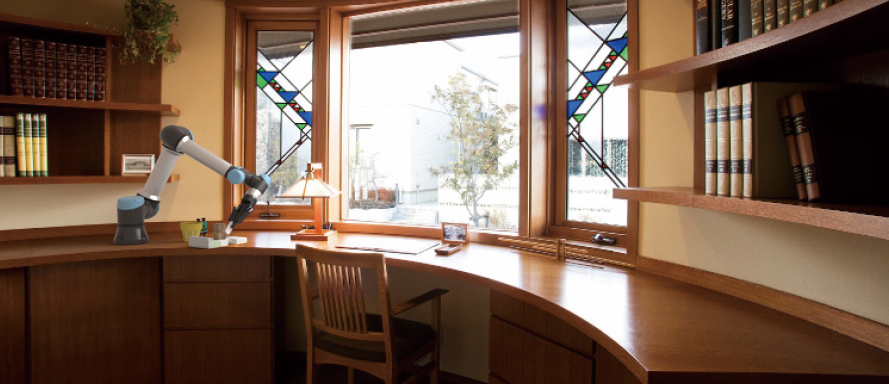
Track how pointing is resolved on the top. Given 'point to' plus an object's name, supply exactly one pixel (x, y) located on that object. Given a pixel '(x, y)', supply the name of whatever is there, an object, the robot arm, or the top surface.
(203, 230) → the binoculars
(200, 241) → the trap board
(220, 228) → the walnut block
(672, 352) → the top surface
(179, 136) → the robot arm
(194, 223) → the plant pot
